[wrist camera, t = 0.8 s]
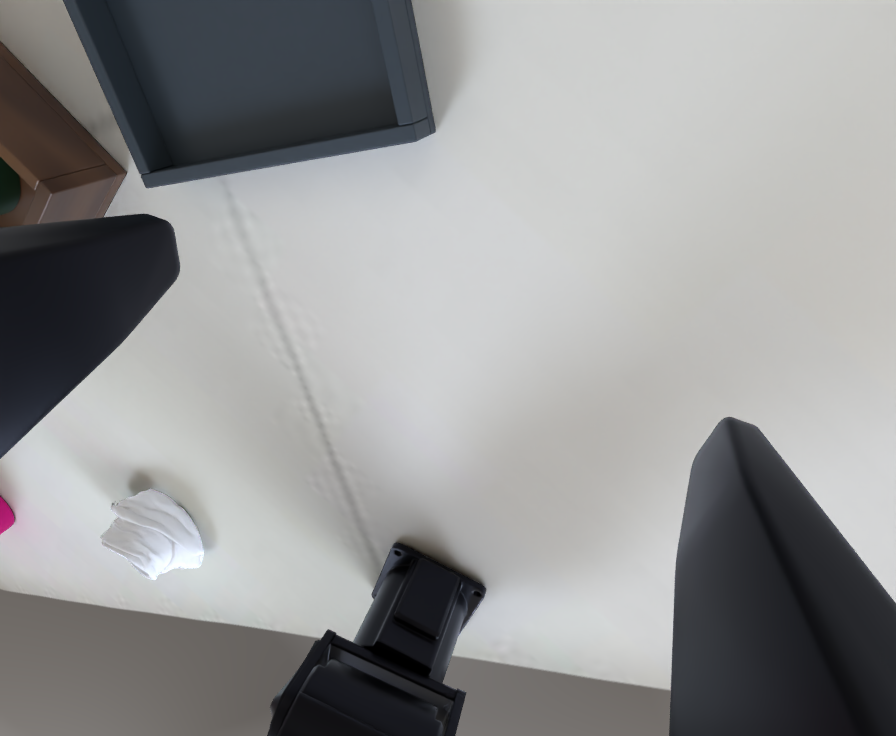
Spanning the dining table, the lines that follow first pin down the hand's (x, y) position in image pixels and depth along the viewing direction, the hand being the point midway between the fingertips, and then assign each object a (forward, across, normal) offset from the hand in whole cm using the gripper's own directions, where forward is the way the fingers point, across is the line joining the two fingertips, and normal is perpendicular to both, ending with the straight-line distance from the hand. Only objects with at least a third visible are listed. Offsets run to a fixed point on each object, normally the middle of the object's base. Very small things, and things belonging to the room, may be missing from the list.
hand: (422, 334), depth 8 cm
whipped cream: (+12, +21, +35) cm, 42 cm away
